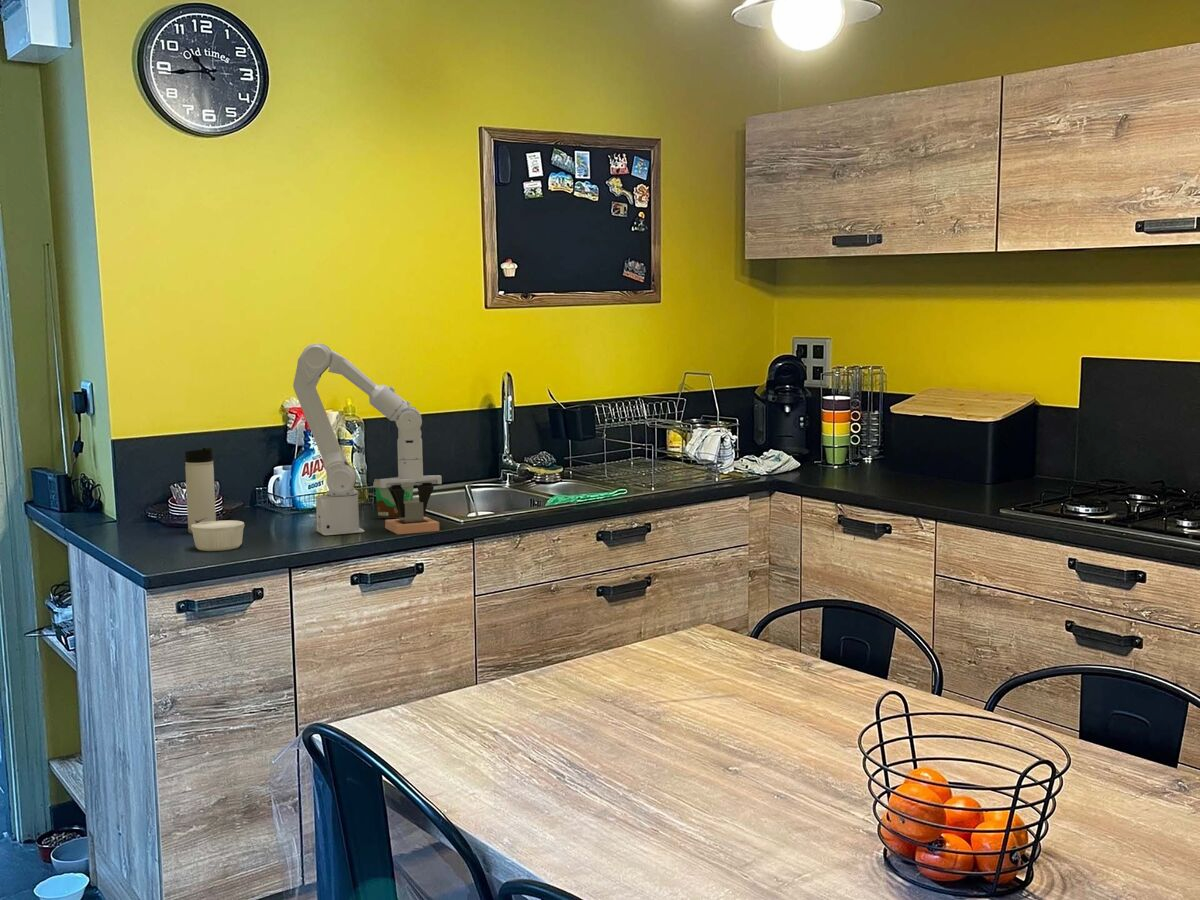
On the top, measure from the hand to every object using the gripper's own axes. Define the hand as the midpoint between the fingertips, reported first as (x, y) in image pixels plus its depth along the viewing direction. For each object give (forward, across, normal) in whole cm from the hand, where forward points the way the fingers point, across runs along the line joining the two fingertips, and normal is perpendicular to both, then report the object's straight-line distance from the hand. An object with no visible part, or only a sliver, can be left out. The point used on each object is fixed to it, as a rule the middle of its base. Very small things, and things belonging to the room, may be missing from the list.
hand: (411, 516), depth 279 cm
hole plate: (+3, 0, 0) cm, 3 cm away
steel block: (+2, 0, 0) cm, 2 cm away
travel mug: (+3, +44, -22) cm, 49 cm away
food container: (+3, -4, -21) cm, 21 cm away
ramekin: (+3, +44, +1) cm, 44 cm away
